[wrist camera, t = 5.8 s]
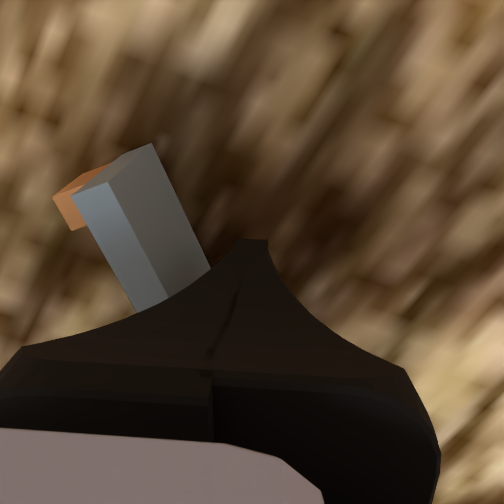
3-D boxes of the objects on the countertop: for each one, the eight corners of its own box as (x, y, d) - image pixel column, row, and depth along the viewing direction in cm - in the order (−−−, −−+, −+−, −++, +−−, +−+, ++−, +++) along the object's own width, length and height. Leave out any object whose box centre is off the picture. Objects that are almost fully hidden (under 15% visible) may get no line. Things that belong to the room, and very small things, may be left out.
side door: (320, 501, 16) (325, 595, 14) (276, 508, 17) (273, 602, 14) (151, 142, 11) (107, 182, 9) (93, 165, 12) (34, 209, 9)
